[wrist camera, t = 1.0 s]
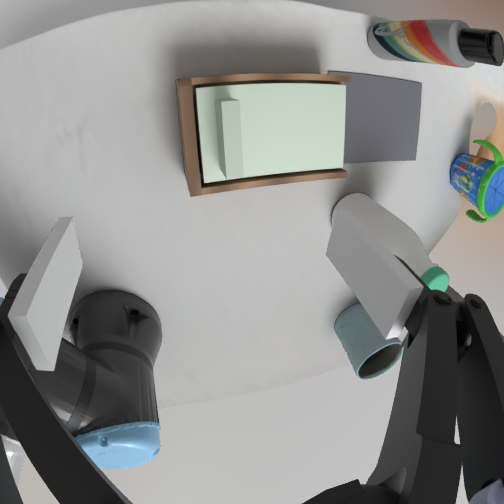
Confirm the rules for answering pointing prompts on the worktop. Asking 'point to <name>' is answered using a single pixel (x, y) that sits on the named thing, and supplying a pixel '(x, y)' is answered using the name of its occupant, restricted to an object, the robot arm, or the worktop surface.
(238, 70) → the worktop surface
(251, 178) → the walnut box
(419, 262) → the milk bottle
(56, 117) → the worktop surface
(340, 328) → the teal cup
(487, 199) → the snack cup
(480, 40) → the lotion bottle
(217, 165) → the lid
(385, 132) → the mat
